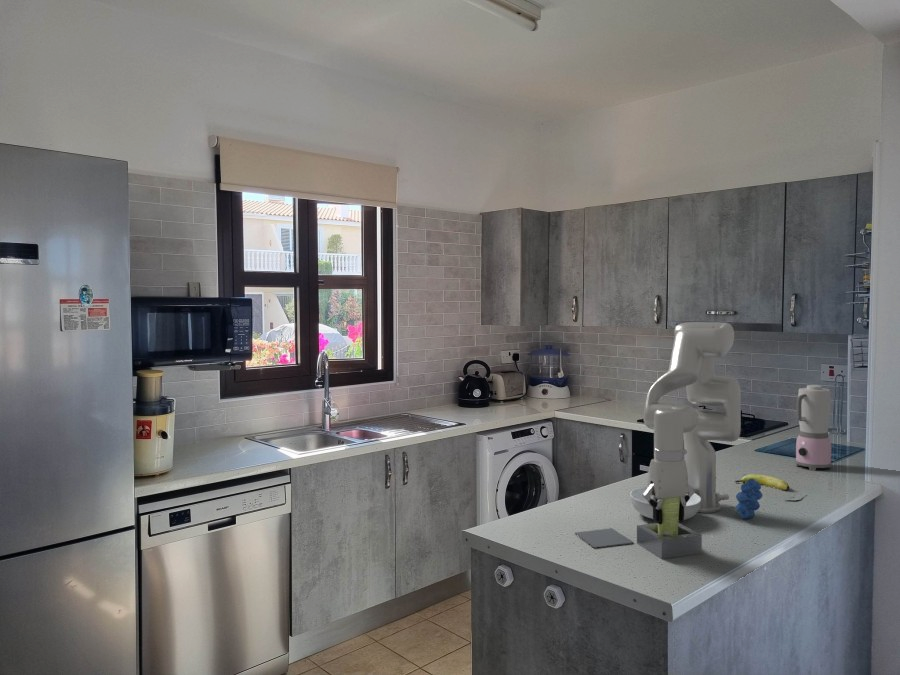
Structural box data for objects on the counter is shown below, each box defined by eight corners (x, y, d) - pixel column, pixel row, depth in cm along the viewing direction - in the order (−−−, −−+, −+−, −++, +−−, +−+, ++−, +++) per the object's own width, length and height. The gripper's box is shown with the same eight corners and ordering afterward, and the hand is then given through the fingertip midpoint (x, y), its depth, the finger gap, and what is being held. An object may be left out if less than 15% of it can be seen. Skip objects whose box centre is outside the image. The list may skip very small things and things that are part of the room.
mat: (611, 529, 198) (611, 528, 198) (633, 543, 186) (633, 542, 186) (574, 534, 194) (574, 532, 194) (594, 548, 183) (594, 547, 183)
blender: (810, 461, 273) (811, 383, 271) (838, 468, 262) (839, 386, 260) (782, 466, 266) (783, 385, 264) (810, 473, 255) (811, 389, 253)
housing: (674, 538, 190) (674, 520, 189) (701, 553, 178) (701, 535, 178) (636, 543, 186) (636, 525, 186) (661, 559, 175) (661, 540, 174)
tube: (664, 543, 186) (664, 473, 185) (681, 547, 183) (682, 476, 182) (654, 548, 182) (654, 477, 181) (672, 553, 179) (672, 480, 177)
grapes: (746, 510, 213) (746, 473, 212) (767, 516, 207) (767, 477, 206) (725, 518, 206) (725, 479, 205) (745, 524, 200) (746, 484, 200)
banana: (831, 490, 235) (831, 479, 235) (796, 506, 218) (796, 494, 218) (734, 471, 262) (734, 461, 262) (696, 484, 245) (696, 474, 245)
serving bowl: (654, 532, 195) (654, 508, 195) (617, 510, 215) (617, 489, 215) (716, 524, 201) (716, 501, 200) (674, 504, 221) (674, 483, 220)
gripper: (688, 449, 187) (687, 513, 188) (632, 454, 182) (632, 520, 183) (705, 455, 179) (704, 522, 180) (647, 460, 175) (647, 529, 176)
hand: (668, 520), depth 182 cm, fingers closed on tube, 5 cm apart
